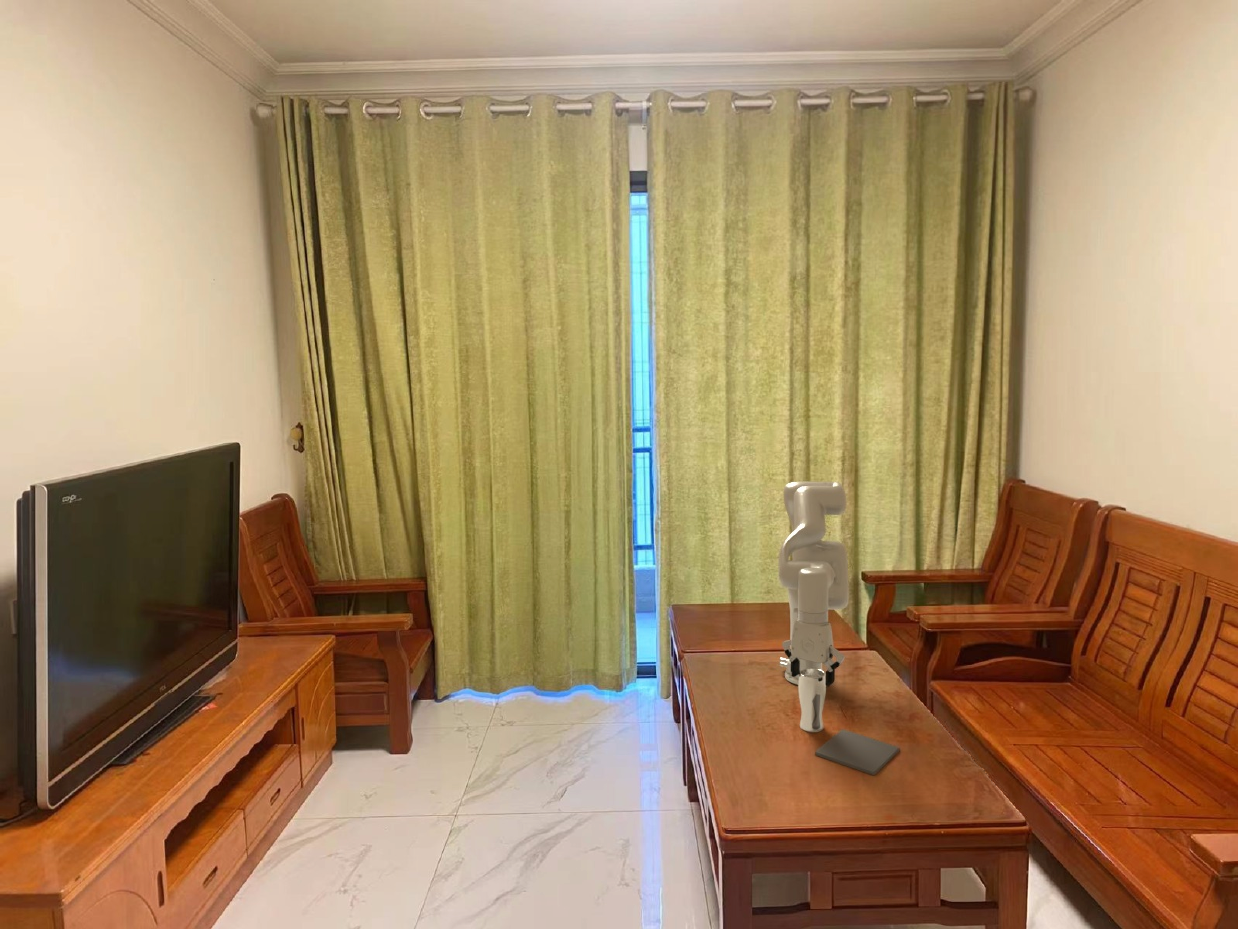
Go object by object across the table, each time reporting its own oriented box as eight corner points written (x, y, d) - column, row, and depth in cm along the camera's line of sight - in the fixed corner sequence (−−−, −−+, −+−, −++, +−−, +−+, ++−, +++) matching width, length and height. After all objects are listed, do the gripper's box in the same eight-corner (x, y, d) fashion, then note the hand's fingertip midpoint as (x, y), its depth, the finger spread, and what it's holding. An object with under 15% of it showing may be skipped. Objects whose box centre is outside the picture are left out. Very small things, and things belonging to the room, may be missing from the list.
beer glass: (806, 735, 200) (806, 679, 198) (793, 723, 207) (793, 669, 205) (830, 731, 202) (831, 676, 200) (816, 719, 209) (817, 666, 207)
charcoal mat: (815, 754, 190) (815, 751, 190) (842, 732, 202) (842, 729, 201) (874, 775, 181) (874, 772, 180) (899, 750, 192) (899, 747, 192)
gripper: (775, 613, 203) (775, 676, 205) (837, 626, 192) (836, 693, 194) (790, 606, 209) (789, 668, 211) (851, 619, 197) (850, 684, 199)
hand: (812, 680), depth 202 cm, fingers open, 9 cm apart
